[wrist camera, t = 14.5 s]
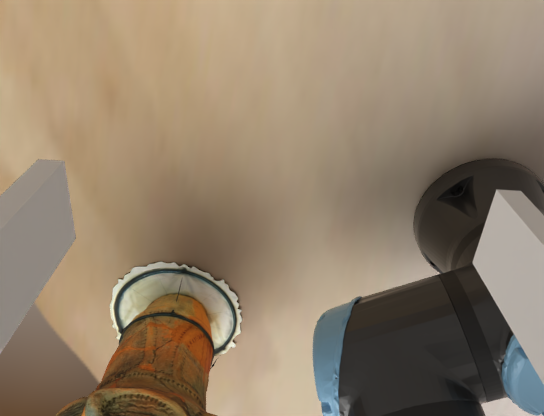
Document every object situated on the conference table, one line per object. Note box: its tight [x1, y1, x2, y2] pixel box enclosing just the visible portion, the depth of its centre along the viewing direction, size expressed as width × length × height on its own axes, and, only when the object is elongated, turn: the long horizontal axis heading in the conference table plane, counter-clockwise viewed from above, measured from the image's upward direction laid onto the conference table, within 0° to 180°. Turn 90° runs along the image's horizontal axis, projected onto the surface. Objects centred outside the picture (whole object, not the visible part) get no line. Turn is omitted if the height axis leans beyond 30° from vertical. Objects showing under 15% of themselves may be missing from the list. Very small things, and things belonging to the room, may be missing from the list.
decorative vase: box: [55, 261, 242, 416], centre depth 54 cm, size 21×23×28 cm
